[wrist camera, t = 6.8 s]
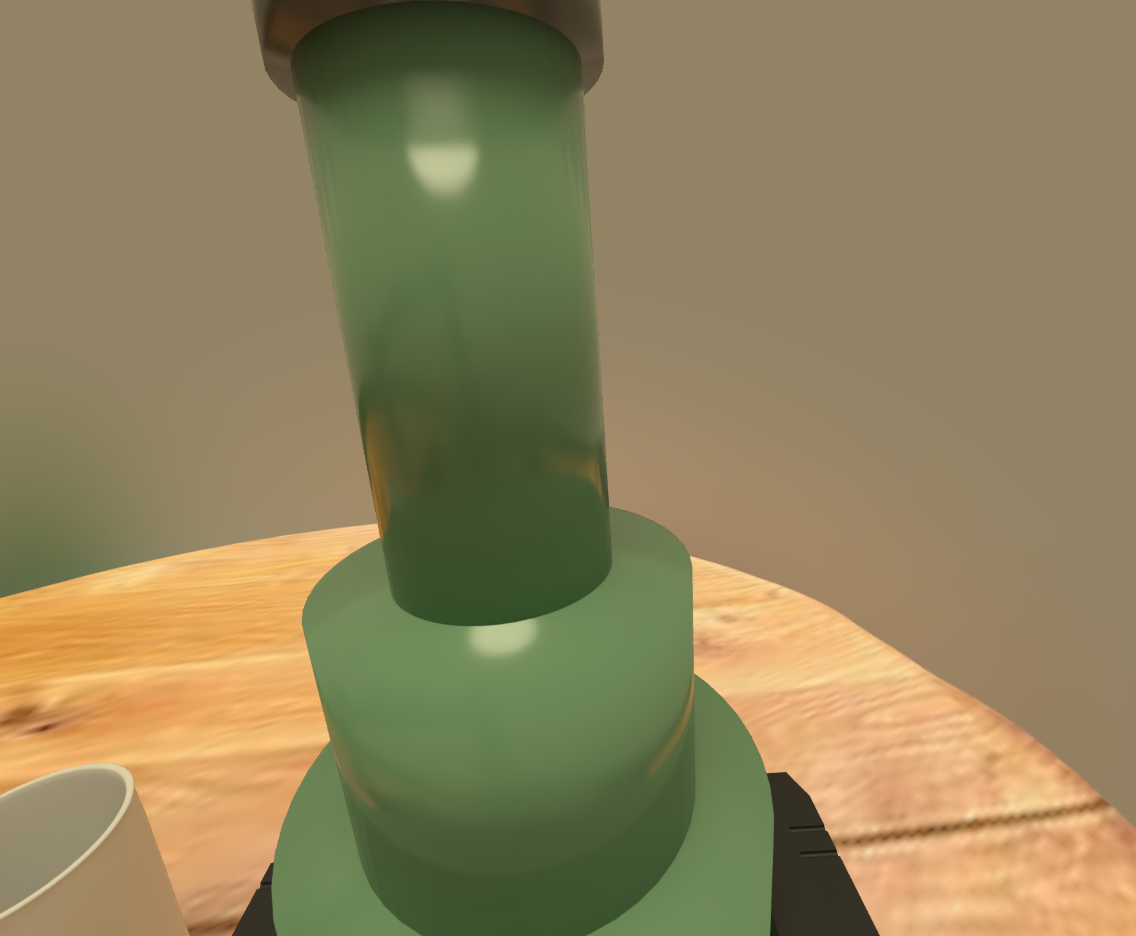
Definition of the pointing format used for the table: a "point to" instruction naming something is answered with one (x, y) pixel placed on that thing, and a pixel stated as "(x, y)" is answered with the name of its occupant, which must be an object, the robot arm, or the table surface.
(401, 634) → the green bottle
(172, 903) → the mug
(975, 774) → the table surface
